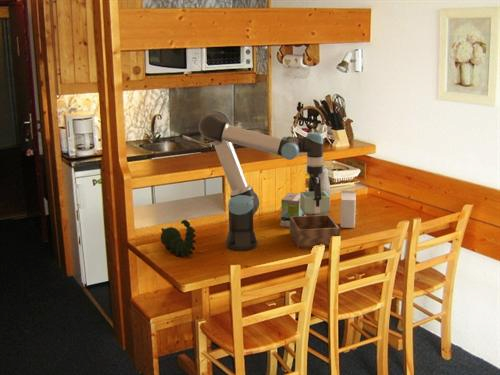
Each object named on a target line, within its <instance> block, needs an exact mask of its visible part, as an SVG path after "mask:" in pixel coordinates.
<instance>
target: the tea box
mask: <svg viewBox="0 0 500 375" xmlns="http://www.w3.org/2000/svg"><path fill="white" fill-rule="evenodd" d="M280 203H281V204H280V206H281V207H280V208H281V209H280V210H281V212H280V213H281V214H280V226H281V227H286V228H290V217H293V216H307V214H304V212H303V211H302V210H301V208H300V193H297V192H296V193H294V192H288V193H286V195H285V196H284V197H283V198H282V199H281V202H280Z"/></svg>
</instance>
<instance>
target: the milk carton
mask: <svg viewBox="0 0 500 375" xmlns="http://www.w3.org/2000/svg"><path fill="white" fill-rule="evenodd" d="M356 196H357V194H356V190H341V196H340V223H339V224H340V226H339V228H346V229H347V228H349V229H355V225H356V200H357V199H356Z"/></svg>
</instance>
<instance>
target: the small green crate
mask: <svg viewBox="0 0 500 375" xmlns="http://www.w3.org/2000/svg"><path fill="white" fill-rule="evenodd" d="M299 194H300V208H301V210H302V211H303V212H304V214H306V215H315V214H318V213H314V200H313V199H314V198H315V195H314V191H312V192H309V191H300V192H299ZM321 198H322V199H321V200H320V213H327V214H330V209H331V208H330V207H331V196H330V197H329V195H328V194H327V193H326V192H325V191H321Z"/></svg>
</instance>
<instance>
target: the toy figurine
mask: <svg viewBox="0 0 500 375" xmlns="http://www.w3.org/2000/svg"><path fill="white" fill-rule="evenodd" d="M180 224H181V225H183V226H184V227H185V228H186V230H185V234H184V236H185V237H184V239H183V238H182V235H181V232H180V230H178V228H176V227H172V226H171V227H170V226H169V227H166V228H161V234H160V243H161V244H162V245H163V246H164V248H165V249H166V250H168V251H169V253H170V254H174V255H175V256H176V257H180V256H182V257H184V258H185V257H186V255H190V256H191V255H193V253H194V251H195V250H196V247H195V246H194V244H196V242H197V241H196V239H194V238H195V237H197V236H196V234H195V232H196V229H195V228H193V226H191V224H190V221H188V220H187V219H183V220H181V222H180Z"/></svg>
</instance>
